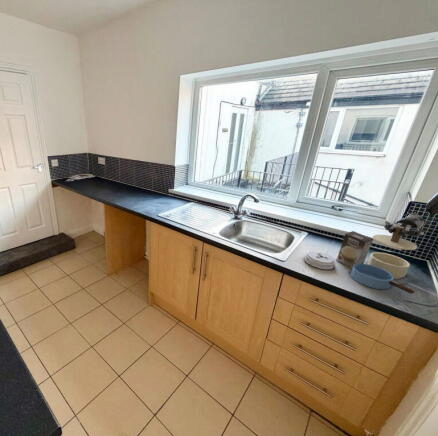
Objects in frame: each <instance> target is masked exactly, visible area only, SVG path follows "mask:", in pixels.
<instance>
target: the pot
mask: <svg viewBox="0 0 438 436" xmlns="http://www.w3.org/2000/svg"><path fill="white" fill-rule="evenodd" d="M366 264H367V265H372V266H375V267H379V268H381V269H383V270H386V271H387V272H389V273H391V274H392V276H393V277H394V278H393V280H402V279H403V278H404V277H406V276H407V274H408V271H409V269H410V266H411V264H410V262H409V261H407V260H405V259H404V258H402V257H399V256H397V255H393V254H389V253H386V252H375V251H374V252H371V253H370V255H369V257H368V260H367V262H366Z"/></svg>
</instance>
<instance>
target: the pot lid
mask: <svg viewBox="0 0 438 436" xmlns="http://www.w3.org/2000/svg"><path fill="white" fill-rule="evenodd" d="M402 230H404V227H401V226H395V229H394V231H393V233H391V235H388V234H374V235H373V236H372V239H373V241H374V242H376V243H378V244H380V245H383V246H387V247H390V248H394V249H399V250H406V251H414V250H417V249H418V245H417V244H416V243H414V242H412V241H411V240H408V239H405V238H402V236H400V233H401V231H402Z"/></svg>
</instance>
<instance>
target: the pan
mask: <svg viewBox="0 0 438 436" xmlns="http://www.w3.org/2000/svg"><path fill="white" fill-rule="evenodd" d="M350 277H351V278H352V280H353V281H355V282H357V283H359V284H361V285H363V286H366V287H368V288H372V289H376V290H388V289H390V288H391V286H393V287H395V288H397V289H400V290H402V291H404V292H406V293H409V294H414V293H415V289H414V288H412V287H409V286H407V285H405V284H402V283H400V282H398V281H395V280H394V279H393V278H394V277H393V276H392V274H391V273H389V272H387V271H386V270H383V269H381V268H379V267H375V266H372V265H367V263H364V264H355V265H354V266H353V268H351V272H350Z"/></svg>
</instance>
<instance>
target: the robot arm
mask: <svg viewBox="0 0 438 436" xmlns="http://www.w3.org/2000/svg"><path fill="white" fill-rule="evenodd" d="M436 192H437V191H436ZM436 192H435V193H436ZM435 193H434V194H435ZM426 209H427V210H428V211H427V210H426ZM426 209H425V210H426V211H427V212H428V213H430V214H431V216H430V217H431V218H432V217H433V216H434V215H435V214H436V213H437V212H438V192H437V193H436V194H435V195H434V196H433V197H432V198H431V199H430V200H429V201H428V203H427V204H426ZM430 214H429V215H430ZM430 221H431V219H430ZM428 223H429V222H428ZM424 224H425V220H424V219H423V218H422V217H421V216H419V215H418V214H417V213H416V212H414V213H411V214H409V215H408V216H407V217H405V218H404V217H403V218H400V219H399V220H397V221H396V222H393V223H391V222H389V221H384V224H383V228H384V229H385V230H386V231H388V233H389V234H393V231H394V229H395V226H401V227H404V230H402V231H401V233H400V236H401V237H405V236H407V235H408V236H409V237H423V235H424V234H425V229H421V227H423V226H424Z"/></svg>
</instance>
